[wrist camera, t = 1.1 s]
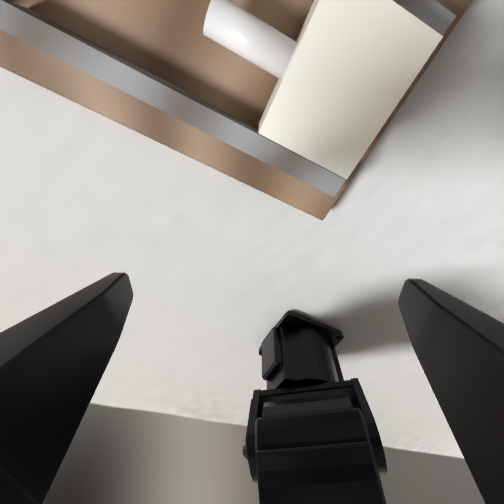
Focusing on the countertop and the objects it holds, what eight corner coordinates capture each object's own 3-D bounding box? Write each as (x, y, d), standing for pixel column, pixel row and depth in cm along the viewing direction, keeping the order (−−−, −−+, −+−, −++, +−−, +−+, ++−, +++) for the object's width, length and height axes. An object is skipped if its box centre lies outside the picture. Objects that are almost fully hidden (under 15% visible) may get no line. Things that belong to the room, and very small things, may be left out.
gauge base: (466, -11, 15) (591, -66, 9) (318, 212, 21) (339, 258, 16) (-50, -410, 10) (-470, -1074, 4) (-30, 43, 16) (-178, 25, 11)
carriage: (448, -31, 13) (515, -70, 10) (330, 160, 18) (346, 179, 14) (276, -165, 11) (283, -274, 8) (195, 88, 16) (176, 90, 12)
